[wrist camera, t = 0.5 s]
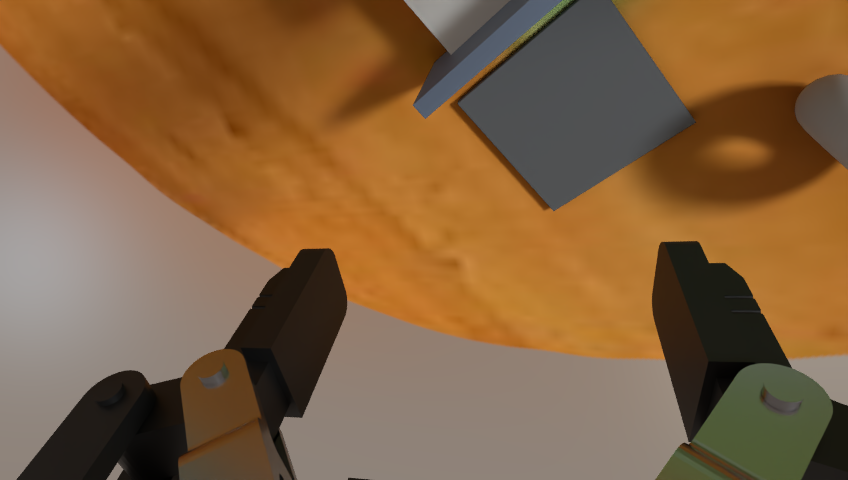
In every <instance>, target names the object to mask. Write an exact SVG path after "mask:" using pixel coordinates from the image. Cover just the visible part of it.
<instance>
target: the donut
mask: <svg viewBox="0 0 848 480" xmlns="http://www.w3.org/2000/svg"><path fill="white" fill-rule="evenodd" d="M795 115H796V118H797V121H798V122H799V124H800V125H801V126H802V127H803V129H804V130H805V131H806V132H807V133H808V134H809V135H810V136H811V137H812V138H813V139H815V140H816V141H817V142H818V143H819V144H820V145H821V146H822V147H823V148H824V149H825V150H826V151H828V152H829V153H830V154H831V155H832V156H833V157H834V158H835V159H836V160H838V161H839V162H840V163H841V164H842V165H843V166H844V167H845V168H847V169H848V75H842V74H837V75H828V76H825V77H822V78H819V79H817V80H815V81H813V82H812V83H810V84H809V85H807V86H806V87H805V88H804V89H803V91H802V92H801V93H800V94H799V96H798V98H797V100H796V103H795Z"/></svg>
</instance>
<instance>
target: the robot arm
mask: <svg viewBox="0 0 848 480" xmlns="http://www.w3.org/2000/svg"><path fill="white" fill-rule="evenodd" d="M652 309H653V316H654V321H655V325H656V328H657V332H658V335H659V339H660V342H661V346H662V349H663V353H664V356H665V360H666V363H667V367H668V370H669V374H670V377H671V381H672V384H673V388H674V392H675V395H676V398H677V402H678V405H679V409H680V412H681V416H682V420H683V423H684V427H685V430H686V434H687V437H688V441H689V442H691V443H690V444H689V445H688V444H686V443H683V444H681V445H680V446H679V447H678V448H677V450H676V451H675V453H674V454H673V455H672V457H671V458H670V459H669V461H668V462H667V464H666V465H665V467H664V468H663V470H662V471H661V472H660V474H659V475H658V477H657V478H656V480H848V406H847V405H844V404H841V403H838V402H836V401H833V400H831V399H830V398H829V396H828V394H827V393H826V392H825V390H824V389H823V388H822V387H821V386H820V385H819V384H818V383H817V382H815V381H814V380H813V379H811V378H809V377H808V376H807V375H805V374H803V373H801V372H799V371H797V370H795V369H792V367H791V365H790V364H789V362H788V360H787V358H786V356H785V354H784V352H783V350H782V349H781V347H780V345H779V343H778V341H777V339H776V337H775V336H774V334H773V332H772V330H771V328H770V326H769V324H768V323H767V321H766V319H765V317H764V315H763V314H761V309H760V308H759V306H758V304H757V302H756V300H755V299H753V295H752V293H751V291H750V289H749V287H748V285H747V283H746V282H745V280H744V278H743V277H742V276H740V275H739V274H738V273H737V272H735V271H734V270H733V269H732V268H730V267H729V266H728V265H727V264H725V263H709V262H708V260H707V258H706V256H705V254H704V252H703V249H702V247H701V245H700V243H699V242H697V241H684V242H661V243H660V246H659V250H658V257H657V264H656V271H655V278H654V286H653V293H652ZM346 310H347V295H346V291H345V287H344V284H343V281H342V277H341V274H340V271H339V268H338V264H337V261H336V258H335V255H334V253H333V251H332V250H331V249H329V248H328V249H302V250H301V251H300V252H299V253H298V255H297V256H296V258H295V260H294V261H293V263H292V264H291V266H290V268H283V269H282V270H281V271H280V272H279V273H277V274H276V275H275V276H273V277H272V278H271V279H270V280H269V281H268V282H267V284H266V285H265V287H264V288H263V290H262V292H261V293H260V297H258V298H257V299H256V301H255V302H254V304H253V306H252V309H250V310H249V311H248V313H247V314H246V316H245V318H244V319H243V321H242V322H241V324H240V325H239V327H238V328H237V330H236V331H235V333H234V334H233V336H232V338H231V339H230V341H229V342H228V344H227V345H226V347H225V348H224V349H222V350H217V351H214V352H211V353H208V354H206V355H204V356H203V357H201V358H199V359H198V360H197V361H195V362H194V363H193V364H192V365H191V366H190V367H189V368H188V369H187V370H186V372H185V373H184V375H183V377H181V378H177V379H173V380H169V381H164V382H160V383H156V384H152V385H150V384H149V383H148V381H147V380H146V378H145V377H144V375H143V374H142V373H140V372H138V371H132V370H129V371H122V372H118V373H116V374H113V375H111V376H108V377H107V378H105V379H103V380H102V381H100V382H98V383H97V384H96V385H94V386H93V387H92V388H91V389H90V390H89V391H88V392H87V393H86V394H85V395H84V396H83V397H82V399H81V400H80V401H79V402H78V404H77V405H76V406H75V407H74V408H73V410H72V411H71V412H70V414H69V415H68V416H67V417H66V419H65V420H64V421H63V422H62V423H61V425H60V426H59V427H58V428H57V430H56V431H55V432H54V434H53V435H52V436H51V437H50V438H49V440H48V441H47V442H46V444H45V445H44V446H43V447H42V448H41V450H40V451H39V452H38V454H37V455H36V456H35V457H34V459H33V460H32V461H31V462H30V464H29V465H28V466H27V467H26V469H25V470H24V471H23V472H22V474H21V475H20V476H19V477H18V478H17V480H106V479H107V478H108V476H109V475H110V473H111V472H112V470H113V469H114V467H115V465H116V464H117V462H118V463H119V464H120V466H121V467H122V468H123V469H124V470H123V471H122V473H121V474H120V476H119V478H118V479H117V480H297V478H296V475H295V472H294V469H293V466H292V463H291V459H290V456H289V453H288V450H287V447H286V444H285V441H284V438H283V435H282V432H281V430H280V428H279V427H280V425H281V423H282V421H283V418H284V417H300V418H302V417H303V414H304V412H305V410H306V407H307V405H308V403H309V400H310V398H311V395H312V393H313V391H314V388H315V386H316V384H317V381H318V379H319V376H320V374H321V372H322V369H323V367H324V365H325V362H326V360H327V358H328V355H329V353H330V351H331V348H332V346H333V343H334V341H335V339H336V336H337V334H338V332H339V329H340V327H341V325H342V322H343V320H344V317H345V315H346ZM348 480H368V479H356V478H348Z"/></svg>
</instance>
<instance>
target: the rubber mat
mask: <svg viewBox="0 0 848 480" xmlns="http://www.w3.org/2000/svg"><path fill="white" fill-rule="evenodd" d="M458 105H459V106H460V107H461V108H462V109H463V110H464V112H465V113H466V114H467V115H468V116H469V117H470V118H471V119H472V120H473V122H474V123H475V124H476V125H477V126H478V127H479V128H480V129H481V131H482V132H483V133H484V134H485V135H486V136H487V137H488V138H489V139H490V141H491V142H492V143H493V144H494V145H495V146H496V147H497V148H498V150H499V151H500V152H501V153H502V154H503V155H504V156H505V157H506V158H507V160H508V161H509V162H510V163H511V164H512V165H513V166H514V167H515V169H516V170H517V171H518V172H519V173H520V174H521V175H522V176H523V177H524V179H525V180H526V181H527V182H528V183H529V184H530V185H531V186H532V188H533V189H534V190H535V191H536V192H537V193H538V194H539V195H540V196H541V198H542V199H543V200H544V201H545V202H546V203H547V204H548V205H549V207H550V208H551V209H552V210H553V211H555V210H556V209H558V208H560V207H561V206H563V205H564V204H566V203H568V202H569V201H571V200H572V199H574V198H576V197H577V196H579V195H580V194H582V193H584V192H585V191H587V190H588V189H590V188H592V187H593V186H595V185H596V184H598V183H600V182H601V181H603V180H604V179H606V178H608V177H609V176H611V175H612V174H614V173H616V172H617V171H619V170H620V169H622V168H624V167H625V166H627V165H628V164H630V163H632V162H633V161H635V160H636V159H638V158H640V157H641V156H643V155H644V154H646V153H648V152H649V151H651V150H652V149H654V148H656V147H657V146H659V145H660V144H662V143H664V142H665V141H667V140H668V139H670V138H672V137H673V136H675V135H676V134H678V133H680V132H681V131H683V130H684V129H686V128H688V127H689V126H691V125H692V124H694V123H696V122H695V120H694V119H693V117H692V116H691V114H690V113H689V111H688V110H687V109H686V107H685V106H684V104H683V103H682V101H681V100H680V99H679V97H678V96H677V94H676V93H675V91H674V90H673V89H672V87H671V86H670V84H669V83H668V81H667V80H666V79H665V77H664V76H663V74H662V73H661V71H660V70H659V68H658V67H657V66H656V64H655V63H654V61H653V60H652V58H651V57H650V56H649V54H648V53H647V51H646V50H645V48H644V47H643V46H642V44H641V43H640V41H639V40H638V38H637V37H636V35H635V34H634V33H633V31H632V30H631V28H630V27H629V25H628V24H627V23H626V21H625V20H624V18H623V17H622V15H621V14H620V13H619V11H618V10H617V8H616V7H615V5H614V4H613V3H612V1H611V0H576V1H575V2H574V3H572V4H571V5H570V6H569V7H568V8H567V9H565V10H564V11H563V12H562V13H561V14H560V15H558V16H557V17H556V18H555V19H554V20H553V21H551V22H550V23H549V24H548V25H547V26H545V27H544V28H543V29H542V30H541V31H540V32H538V33H537V34H536V35H535V36H534V37H533V38H531V39H530V40H529V41H528V42H527V43H526V44H524V45H523V46H522V47H521V48H520V49H518V50H517V51H516V52H515V53H514V54H513V55H511V56H510V57H509V58H508V59H507V60H506V61H504V62H503V63H502V64H501V65H500V66H499V67H497V68H496V69H495V70H494V71H493V72H492V73H490V74H489V75H488V76H487V77H486V78H484V79H483V80H482V81H481V82H480V83H479V84H477V85H476V86H475V87H474V88H473V89H472V90H470V91H469V92H468V93H467V94H466V95H465V96H463V97H462V98H461V99H460V100H459V101H458Z"/></svg>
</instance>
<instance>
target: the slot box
mask: <svg viewBox="0 0 848 480" xmlns="http://www.w3.org/2000/svg"><path fill="white" fill-rule="evenodd" d="M404 1H405V2H406V3H407V5H408V6H409V7H410V8H411V9H412V10H413V12H414V13H415V14H416V15H417V16H418V17H419V18H420V20H421V21H422V22H423V23H424V24H425V25H426V27H427V28H428V29H429V30H430V31H431V32H432V34H433V35H434V36H435V37H436V38H437V39H438V40H439V42H440V43H441V44H442V45H443V46H444V47H445V49H446V50H447V52H445V53H444V54H443V55H442V56H441V57H440V58H439V59H438V60H437V61H436V62H435V63H434V65H433V67H432V69H431V71H430V72H429V74H428V76H427V78H426V80H425V82H424V84H423V86H422V88H421V90H420V92H419V94H418V96H417V98H416V100H415V102H414V104H413V106H414V107H415V108H416V109H417V110H418V112H419V113H420V114H421V115H422V116H423V117H424V118H425V119H426V118H427V117H428V116H429V115H430V114H431V113H433V112H434V111H435V110H436V109H437V108H438V107H440V106H441V105H442V104H443V103H444V102H445V101H447V100H448V99H449V98H450V97H451V96H452V95H453V94H455V93H456V92H457V91H458V90H459V89H460V88H462V87H463V86H464V85H465V84H466V83H467V82H468V81H470V80H471V79H472V78H473V77H474V76H475V75H477V74H478V73H479V72H480V71H481V70H482V69H483V68H485V67H486V66H487V65H488V64H489V63H490V62H492V61H493V60H494V59H495V58H496V57H497V56H498V55H500V54H501V53H502V52H503V51H504V50H505V49H507V48H508V47H509V46H510V45H511V44H512V43H513V42H515V41H516V40H517V39H518V38H519V37H520V36H522V35H523V34H524V33H525V32H526V31H527V30H529V29H530V28H531V27H532V26H533V25H534V24H535V23H537V22H538V21H539V20H540V19H541V18H542V17H544V16H545V15H546V14H547V13H548V12H549V11H550V10H552V9H553V8H554V7H555V6H556V5H557V4H559V3H560V2H561V1H562V0H404Z"/></svg>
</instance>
